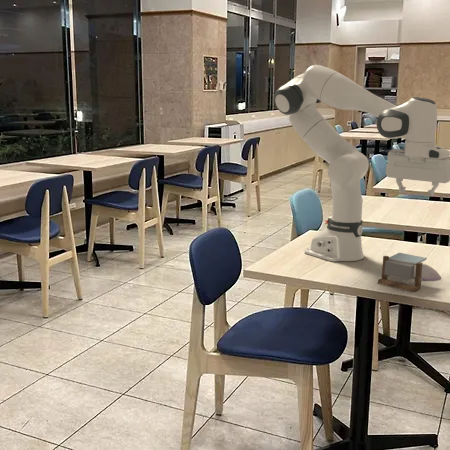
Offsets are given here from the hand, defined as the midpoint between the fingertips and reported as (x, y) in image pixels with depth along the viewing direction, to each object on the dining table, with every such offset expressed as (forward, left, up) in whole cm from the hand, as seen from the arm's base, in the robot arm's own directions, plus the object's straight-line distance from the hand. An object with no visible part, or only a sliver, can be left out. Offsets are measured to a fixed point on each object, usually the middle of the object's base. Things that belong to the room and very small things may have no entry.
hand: (416, 194), depth 183 cm
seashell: (+2, +9, -30) cm, 31 cm away
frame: (0, -7, -29) cm, 30 cm away
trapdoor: (-1, -3, -26) cm, 26 cm away
